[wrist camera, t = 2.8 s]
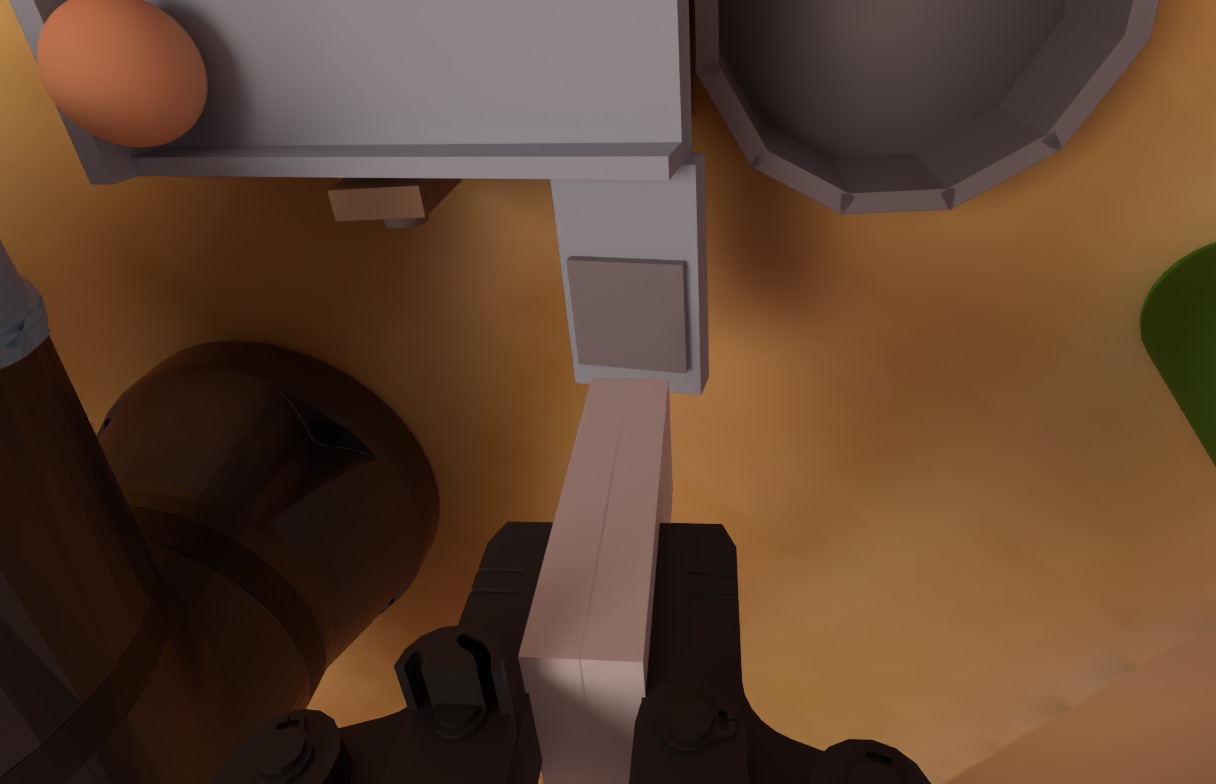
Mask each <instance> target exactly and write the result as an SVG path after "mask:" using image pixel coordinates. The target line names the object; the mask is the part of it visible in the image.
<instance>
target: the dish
mask: <svg viewBox="0 0 1216 784" xmlns="http://www.w3.org/2000/svg"><path fill="white" fill-rule="evenodd" d="M1159 1H1160V0H695V34H696V71H695V72H696V75H698V77H699V79H700V80H701V82H702V84H703V85H704V87H705V89H706V91H707V92H708V94H709V96H710V97H711V99H712V101H713V103H714V104H715V106H716V108H717V109H718V111H719V113H720V114H721V116H722V118H723V120H724V121H725V123H726V125H727V126H728V128H729V130H730V131H731V133H732V135H733V137H734V138H735V140H736V142H737V143H738V145H739V147H740V148H741V150H742V152H743V154H744V155H745V157H746V159H747V160H748V162H749V164H750V167H752V169H753V168H754V169H756V170H758V171H760V172H762V173H764V174H765V175H767V176H769V177H771V178H773V179H775V180H777V181H779V182H781V183H783V184H785V185H787V186H788V187H790V188H792V189H794V190H796V191H798V192H800V193H802V194H804V195H806V196H808V197H810V198H811V199H813V200H815V201H817V202H819V203H821V204H823V205H825V206H827V207H829V208H831V209H833V210H834V211H836V212H838V213H840V214H842V215H843V214H859V213H881V212H903V211H925V210H950V209H952V208H954V207H956V206H958V205H960V204H962V203H963V202H965V201H967V200H969V199H971V198H973V197H975V196H976V195H978V194H980V193H982V192H984V191H986V190H988V189H989V188H991V187H993V186H995V185H997V184H999V183H1001V182H1003V181H1004V180H1006V179H1008V178H1010V177H1012V176H1014V175H1016V174H1017V173H1019V172H1021V171H1023V170H1025V169H1027V168H1029V167H1031V166H1032V165H1034V164H1036V163H1038V162H1040V161H1042V160H1044V159H1045V158H1047V157H1049V156H1051V155H1053V154H1055V153H1057V152H1060V150H1062V148H1063V147H1064V146H1065V144H1066V143H1067V142H1068V141H1069V139H1070V138H1071V137H1072V136H1073V134H1074V133H1075V132H1076V131H1077V129H1078V128H1079V127H1080V126H1081V124H1082V123H1083V122H1084V121H1085V119H1086V118H1087V117H1088V116H1089V115H1090V113H1091V112H1092V111H1093V110H1094V108H1095V107H1096V106H1097V105H1098V103H1099V102H1100V101H1101V100H1102V98H1103V97H1104V96H1105V95H1106V93H1107V92H1108V91H1109V90H1110V88H1111V87H1112V86H1113V85H1114V83H1115V82H1116V81H1117V80H1118V79H1119V77H1120V76H1121V75H1122V74H1123V72H1124V71H1125V70H1126V69H1127V67H1128V66H1129V65H1130V64H1131V62H1132V61H1133V60H1134V59H1135V57H1136V56H1137V55H1138V54H1139V52H1140V51H1141V50H1142V49H1143V48H1144V46H1145V45H1146V44H1147V43H1149V40H1150V35H1151V31H1152V28H1153V24H1154V20H1155V16H1156V12H1157V9H1158V5H1159Z"/></svg>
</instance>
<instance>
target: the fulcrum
mask: <svg viewBox="0 0 1216 784" xmlns="http://www.w3.org/2000/svg"><path fill="white" fill-rule="evenodd" d="M462 179H463V178H345V179H343V180H342V181H341V182H339V183H338V184H336V185H335V186H333V187H332V188H330V189H329V190H327V192H328V195H329V199H330V202H331V206H332V209H333V213H334V216H335V220H336V221H357V220H378V219H383V220H384V224H385V226H386V227H387V228H391V229H403V228H410V227H414V226H418V225H420V224H423V223H425V222H426V221H427V220H428V219H429V218H428V214H429V213H430V212H431V211H432V210H433V209H434V208H435V207H436V206H437V205H438V204H439V203H440V202H441V201H442V200H443V199H444V197H445V196H446V195H447V194H448V193H449V192H450V191H451V190H452V189H453V188H454V187H455V186H456V185H457V184H458V183H459V182H460V181H461V180H462Z"/></svg>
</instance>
